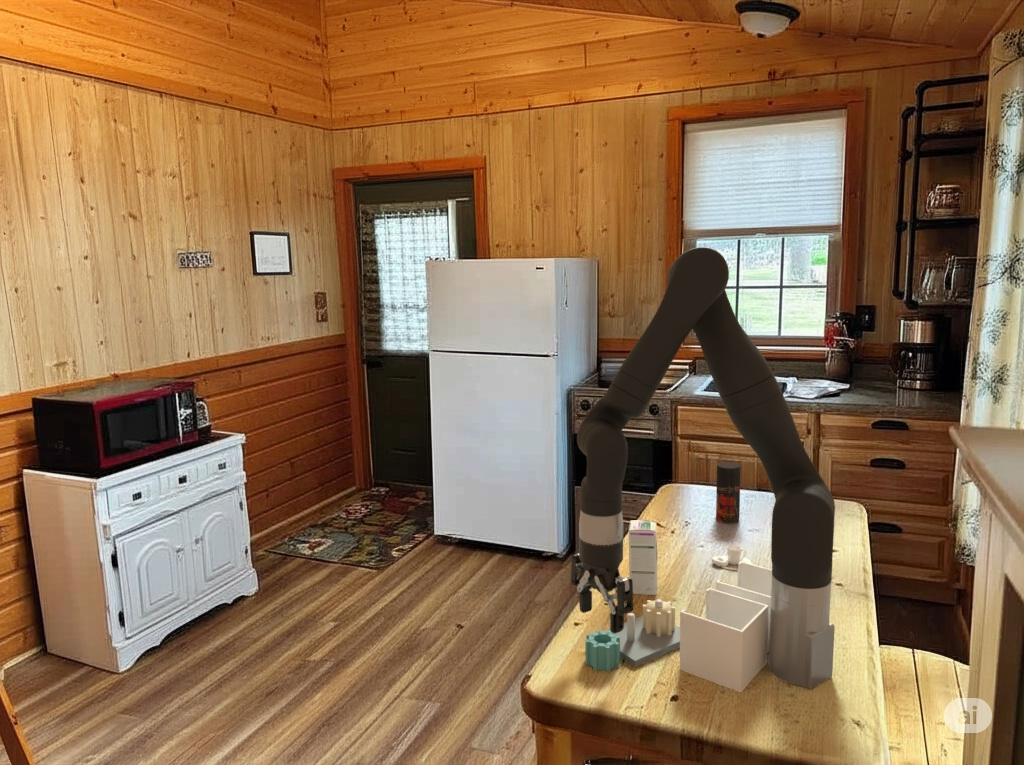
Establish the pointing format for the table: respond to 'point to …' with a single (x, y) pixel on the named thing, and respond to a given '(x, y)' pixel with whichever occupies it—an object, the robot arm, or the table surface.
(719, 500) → the deodorant
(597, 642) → the gear
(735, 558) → the teacup and saucer
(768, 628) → the white folded wall panels
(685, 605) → the table surface
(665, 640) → the board
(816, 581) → the robot arm
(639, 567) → the syrup box
